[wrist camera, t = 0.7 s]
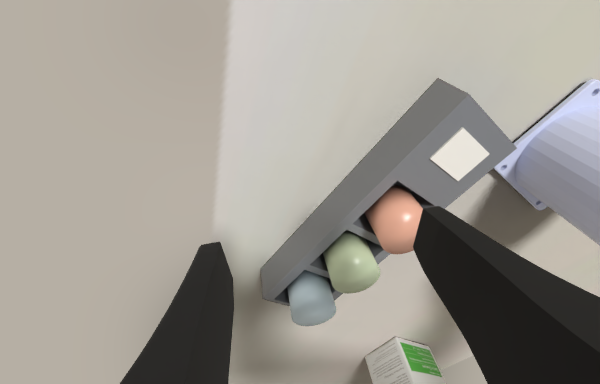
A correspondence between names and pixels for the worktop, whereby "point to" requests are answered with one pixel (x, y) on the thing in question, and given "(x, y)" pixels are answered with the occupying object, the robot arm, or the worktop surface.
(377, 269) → the sage button
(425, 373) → the skincare box
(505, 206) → the worktop surface
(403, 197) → the terracotta button
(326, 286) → the blue button
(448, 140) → the console
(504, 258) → the robot arm
